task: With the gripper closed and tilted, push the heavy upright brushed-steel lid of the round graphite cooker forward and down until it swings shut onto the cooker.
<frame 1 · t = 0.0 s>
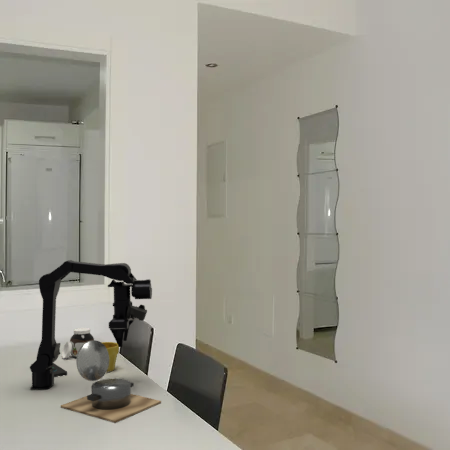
hand: (122, 343, 193), 15 cm above the table, tool pointing down, fingers open, 9 cm apart
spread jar: (77, 357, 233), on the table
cooker: (111, 393, 173), on the board, point 4 cm above the table
plant pot: (105, 370, 213), on the table
smart home device: (48, 372, 212), on the table
lid: (92, 360, 177), point 13 cm above the table, hinge at -100.0°
board: (111, 405, 173), on the table
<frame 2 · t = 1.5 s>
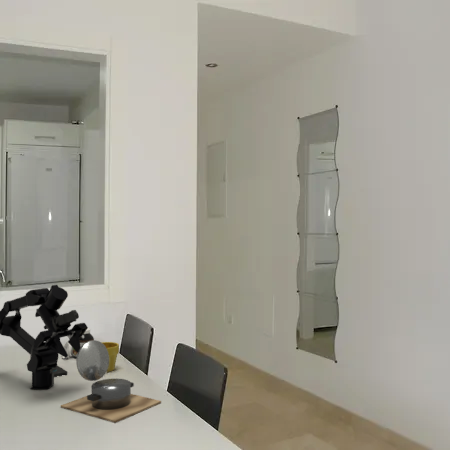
hand: (73, 354, 182), 14 cm above the table, tool tilted 45°, fingers open, 5 cm apart
nothing on the table moved.
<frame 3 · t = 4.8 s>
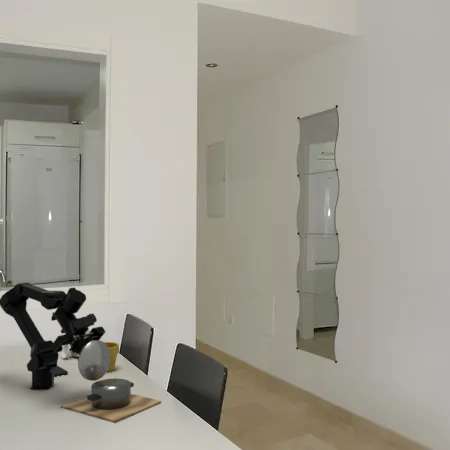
hand: (92, 359, 177), 13 cm above the table, tool tilted 45°, fingers closed, pressing on lid
lid: (94, 360, 177), point 13 cm above the table, hinge at -93.6°, touching gripper
everything else where it was.
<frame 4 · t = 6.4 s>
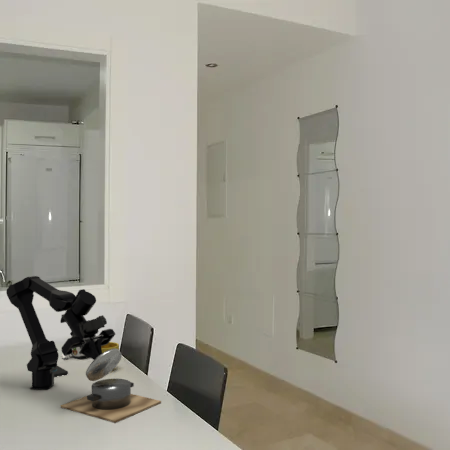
hand: (102, 362, 175), 13 cm above the table, tool tilted 45°, fingers closed, pressing on lid
lid: (103, 364, 174), point 12 cm above the table, hinge at -53.2°, touching gripper
everything else where it was.
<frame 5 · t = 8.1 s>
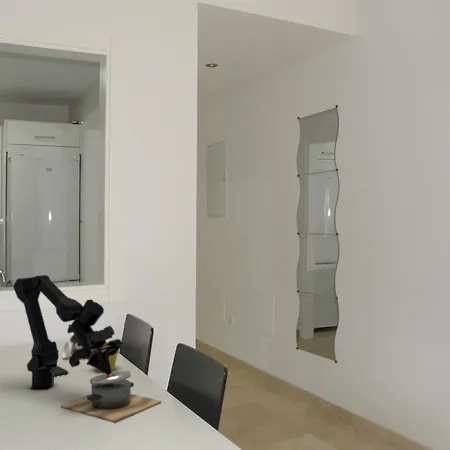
hand: (110, 373, 173), 10 cm above the table, tool tilted 45°, fingers closed, pressing on lid
lid: (110, 377, 173), point 9 cm above the table, hinge at -10.2°, touching gripper
everything else where it was.
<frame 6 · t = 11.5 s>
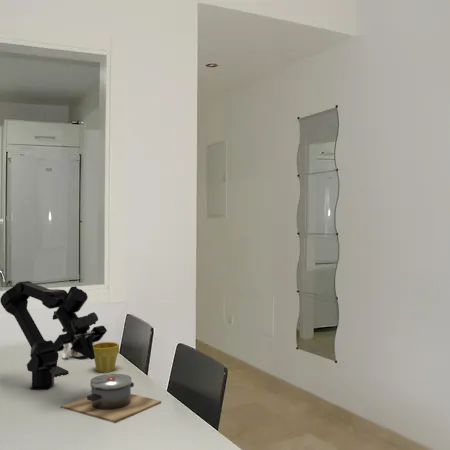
hand: (93, 358, 177), 14 cm above the table, tool tilted 45°, fingers closed
lid: (111, 380, 173), point 8 cm above the table, hinge at 0.1°
everything else where it was.
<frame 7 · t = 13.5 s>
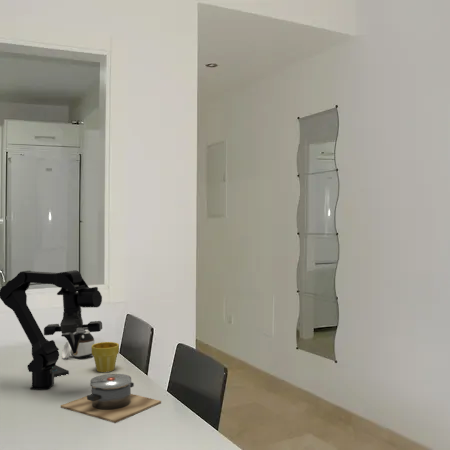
hand: (75, 353, 188), 13 cm above the table, tool pointing down, fingers closed
nothing on the table moved.
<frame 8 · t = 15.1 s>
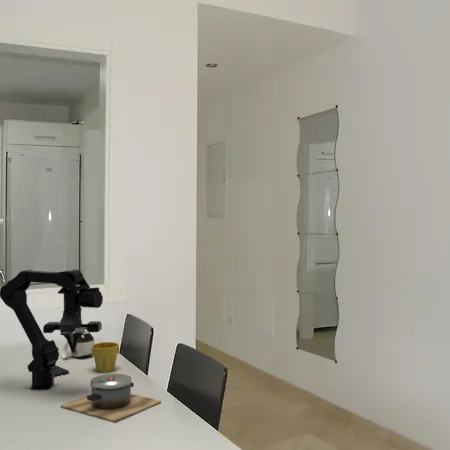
hand: (73, 352, 188), 13 cm above the table, tool pointing down, fingers closed
nothing on the table moved.
at the end: lid at +0° (first picture: -100°) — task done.
